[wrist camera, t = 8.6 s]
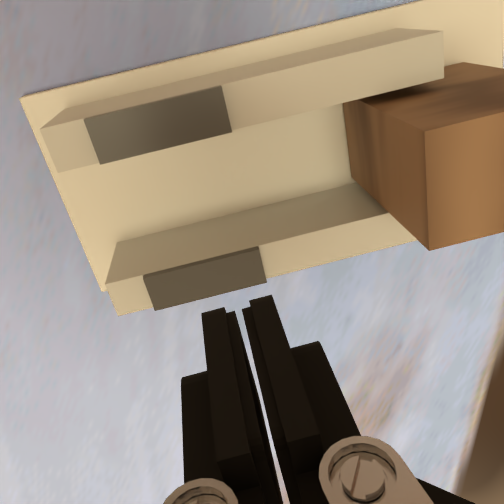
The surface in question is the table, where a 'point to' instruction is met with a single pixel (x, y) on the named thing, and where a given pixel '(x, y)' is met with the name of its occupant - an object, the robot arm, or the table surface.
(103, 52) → the table surface
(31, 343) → the table surface
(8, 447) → the table surface
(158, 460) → the table surface
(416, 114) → the block
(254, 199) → the chute
